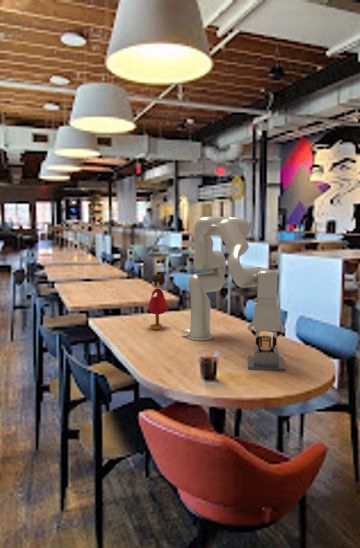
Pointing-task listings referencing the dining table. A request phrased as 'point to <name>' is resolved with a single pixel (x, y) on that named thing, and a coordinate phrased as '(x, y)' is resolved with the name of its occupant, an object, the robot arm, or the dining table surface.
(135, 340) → the dining table surface
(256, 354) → the flange socket
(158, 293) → the toy
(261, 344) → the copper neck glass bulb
